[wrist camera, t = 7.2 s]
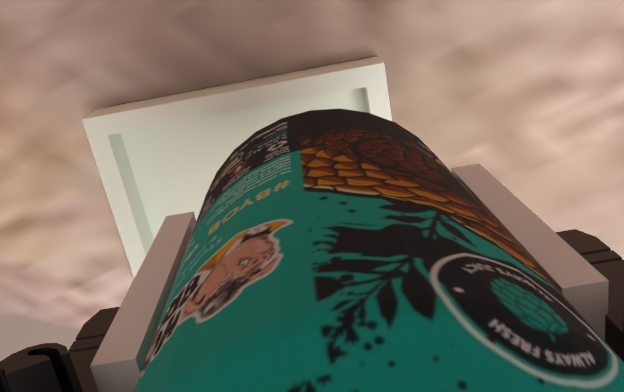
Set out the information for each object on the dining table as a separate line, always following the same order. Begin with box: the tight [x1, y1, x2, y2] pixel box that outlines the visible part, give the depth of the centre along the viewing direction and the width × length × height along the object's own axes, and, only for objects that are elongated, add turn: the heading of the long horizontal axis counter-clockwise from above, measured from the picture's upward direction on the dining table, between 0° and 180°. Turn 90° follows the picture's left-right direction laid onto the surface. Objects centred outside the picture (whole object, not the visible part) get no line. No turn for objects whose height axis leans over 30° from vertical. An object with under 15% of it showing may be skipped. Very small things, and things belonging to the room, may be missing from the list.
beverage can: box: [134, 108, 624, 392], centre depth 11 cm, size 7×7×12 cm
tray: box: [82, 56, 392, 278], centre depth 32 cm, size 15×15×2 cm
